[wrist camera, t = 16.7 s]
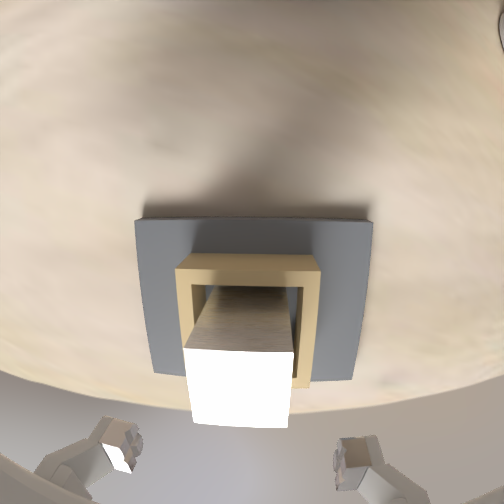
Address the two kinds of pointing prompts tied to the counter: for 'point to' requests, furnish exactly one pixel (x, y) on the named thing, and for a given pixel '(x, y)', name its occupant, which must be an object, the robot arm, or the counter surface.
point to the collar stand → (258, 282)
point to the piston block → (241, 358)
